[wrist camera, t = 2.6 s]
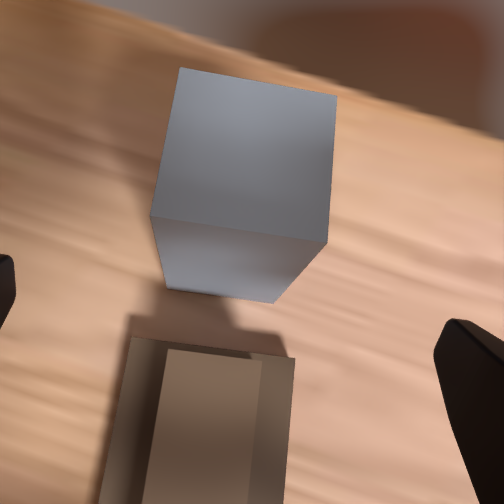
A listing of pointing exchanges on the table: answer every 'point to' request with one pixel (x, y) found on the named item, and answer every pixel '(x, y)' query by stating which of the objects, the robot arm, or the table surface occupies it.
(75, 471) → the table surface
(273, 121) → the slate post
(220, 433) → the walnut ridge
